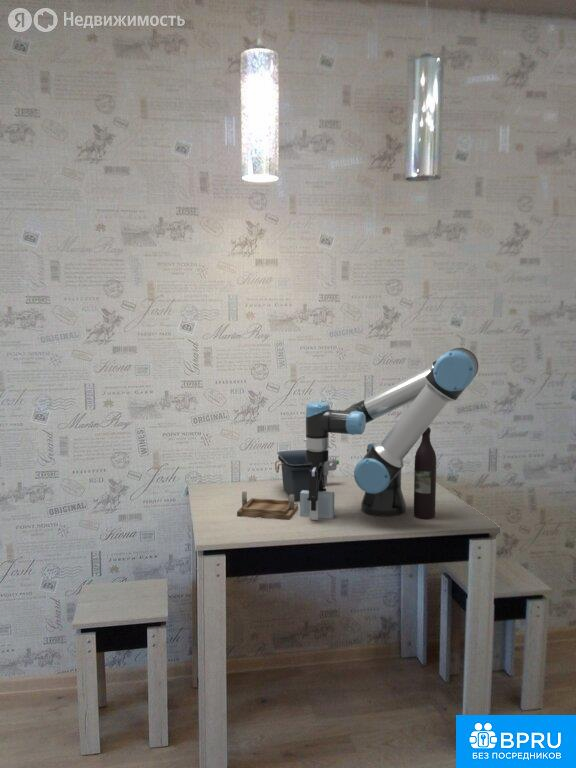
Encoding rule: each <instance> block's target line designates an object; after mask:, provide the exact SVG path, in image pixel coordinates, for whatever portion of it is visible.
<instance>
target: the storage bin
mask: <svg viewBox="0 0 576 768" xmlns="http://www.w3.org/2000/svg"><path fill="white" fill-rule="evenodd" d="M306 450H307V449H295V450H281V451H278V452H277V453H276V454H277V455H278V457H277V458H278V460H276V461H275V463H274V470H275V473H277V474H278V473H279V470H280V466H281V476H282V477H281V478H282V486H283V487H282V488H283V490H284V491H285V492H286V493H287V494H288V496H289V495H291V494H293V495H294V502H295V501H296V502H298V501H299V502H300V492H301V491H302V490H306V491H309V480H310V472H309V471H310V467H312V463H311V462H308V461H306ZM278 462H280V463H278ZM277 463H278V465H277Z"/></svg>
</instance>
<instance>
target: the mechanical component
mask: <svg viewBox="0 0 576 768" xmlns="http://www.w3.org/2000/svg"><path fill="white" fill-rule="evenodd" d="M339 463H340V461H339V460H337V459H336V458H335V459H334V458H333V459H328V461H327V462H324V477H325V487H328V476H329V472H330V471H331V472H333V471H336V470H337V468H338V467H337V466H338V465H339Z"/></svg>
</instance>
